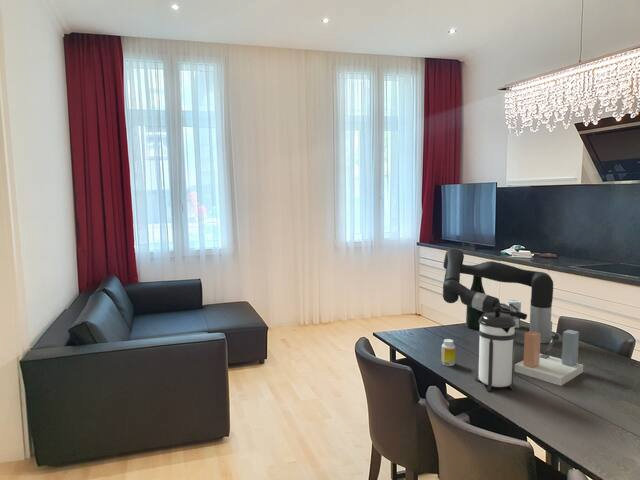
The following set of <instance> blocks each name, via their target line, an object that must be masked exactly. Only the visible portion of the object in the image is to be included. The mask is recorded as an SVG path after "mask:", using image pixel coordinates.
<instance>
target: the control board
mask: <svg viewBox="0 0 640 480" xmlns="http://www.w3.org/2000/svg"><path fill="white" fill-rule="evenodd" d="M523 362H524V359H523V360H521V361H519V362H517V363H514V372H515V373H517V374H521V375H524V376H528V377H531V378H535V379H537V380H541V381H543V382H547V383H551V384H554V385H557V386H559V387H561V386H563V385H565V384H566V383H568V382H569V381H571V380H572V379H574V378H576V377H578V376H579V375H580V374H582V373H584V364H581V363H579V362H578V363H577V364H575V365H573V366H570V365H566V364H562V358H559V357H555V356H551V355H548V354H547V355H546V354H543V353H540V360H539V365H537V366H535V367H534V368H533V367H530V366H526V365H523Z"/></svg>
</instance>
